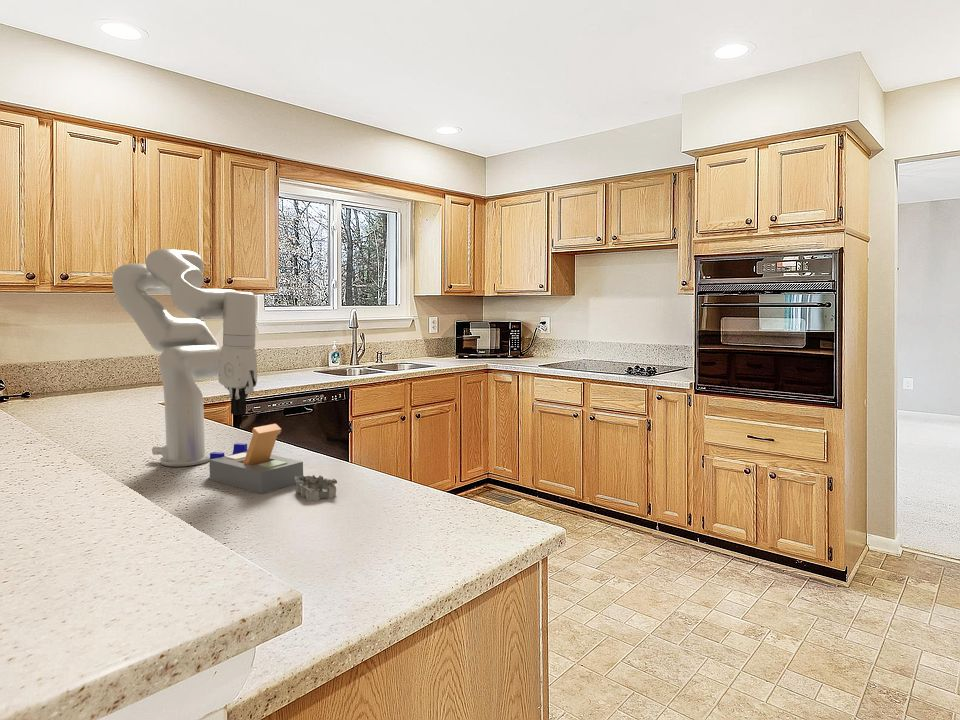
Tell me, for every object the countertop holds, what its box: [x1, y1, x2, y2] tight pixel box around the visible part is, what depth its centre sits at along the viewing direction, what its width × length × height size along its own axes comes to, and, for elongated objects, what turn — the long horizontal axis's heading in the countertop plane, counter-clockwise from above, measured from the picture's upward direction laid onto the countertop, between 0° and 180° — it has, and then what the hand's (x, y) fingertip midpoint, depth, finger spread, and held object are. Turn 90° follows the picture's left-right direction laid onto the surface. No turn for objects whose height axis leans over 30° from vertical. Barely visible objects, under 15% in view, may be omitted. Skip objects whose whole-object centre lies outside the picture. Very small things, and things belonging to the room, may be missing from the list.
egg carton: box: [295, 474, 338, 501], centre depth 144 cm, size 11×8×4 cm
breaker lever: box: [244, 423, 282, 465], centre depth 152 cm, size 2×6×12 cm, turn 148°
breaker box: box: [208, 452, 304, 495], centre depth 154 cm, size 20×12×5 cm, turn 56°
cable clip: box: [209, 442, 248, 459], centre depth 163 cm, size 12×4×6 cm, turn 169°
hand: (238, 413), depth 159 cm, fingers closed
